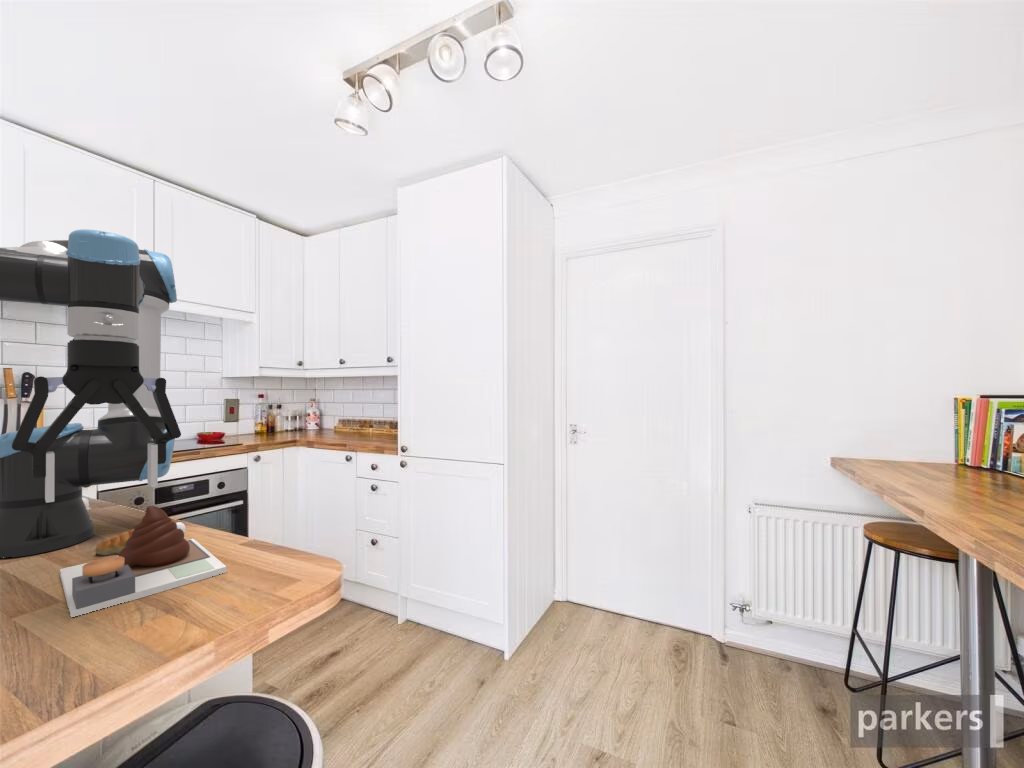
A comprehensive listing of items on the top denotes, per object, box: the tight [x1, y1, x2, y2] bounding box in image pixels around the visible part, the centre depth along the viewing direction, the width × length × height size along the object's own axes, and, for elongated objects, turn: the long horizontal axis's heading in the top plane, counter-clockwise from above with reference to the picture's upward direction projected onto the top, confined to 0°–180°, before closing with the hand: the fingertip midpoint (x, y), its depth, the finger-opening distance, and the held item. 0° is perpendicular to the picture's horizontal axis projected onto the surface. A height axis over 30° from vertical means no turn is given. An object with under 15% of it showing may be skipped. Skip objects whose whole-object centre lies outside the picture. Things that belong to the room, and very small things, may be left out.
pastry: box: [95, 528, 134, 556], centre depth 81 cm, size 9×7×4 cm
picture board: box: [59, 538, 227, 618], centre depth 70 cm, size 20×18×4 cm
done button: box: [82, 555, 125, 583], centre depth 61 cm, size 4×4×3 cm
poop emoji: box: [117, 505, 190, 567], centre depth 73 cm, size 10×8×9 cm
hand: (104, 492), depth 61 cm, fingers open, 10 cm apart
